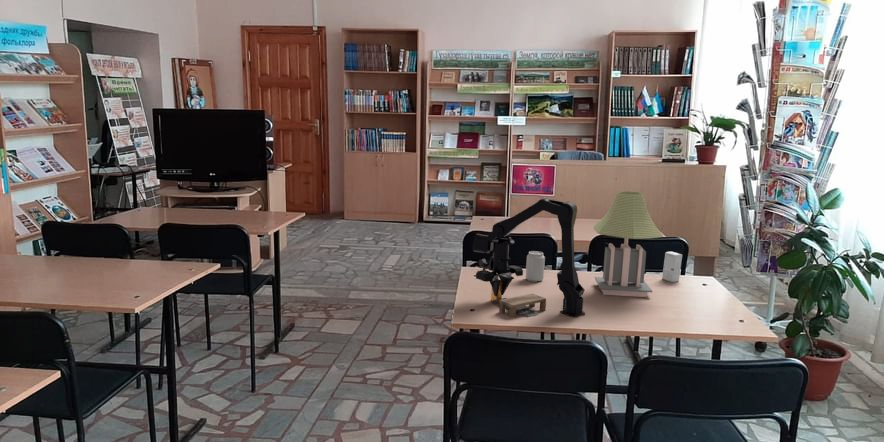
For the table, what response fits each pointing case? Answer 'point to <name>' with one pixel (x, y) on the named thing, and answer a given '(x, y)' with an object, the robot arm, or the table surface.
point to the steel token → (528, 312)
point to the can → (535, 266)
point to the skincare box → (672, 266)
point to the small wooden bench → (521, 303)
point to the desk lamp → (626, 245)
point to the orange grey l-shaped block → (499, 297)
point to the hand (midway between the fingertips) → (498, 295)
